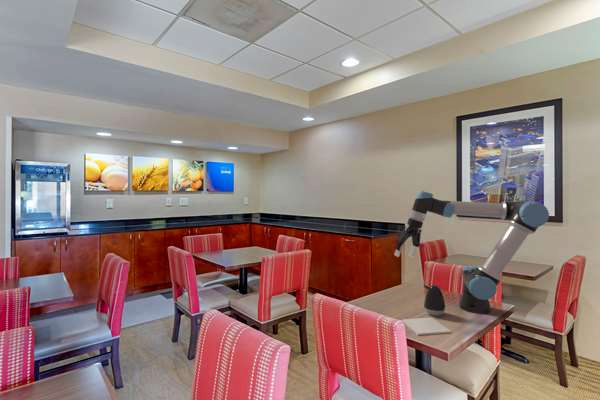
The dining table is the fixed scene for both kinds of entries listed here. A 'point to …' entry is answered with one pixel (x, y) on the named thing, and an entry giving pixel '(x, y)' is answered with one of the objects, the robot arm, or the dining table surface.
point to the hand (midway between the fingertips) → (403, 256)
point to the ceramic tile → (425, 326)
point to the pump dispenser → (434, 301)
